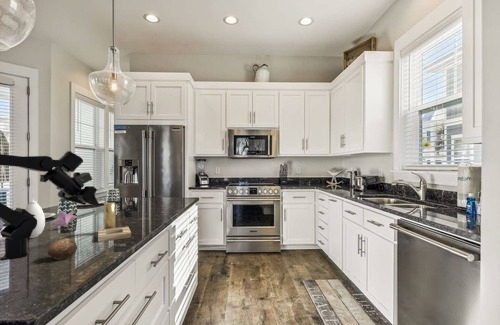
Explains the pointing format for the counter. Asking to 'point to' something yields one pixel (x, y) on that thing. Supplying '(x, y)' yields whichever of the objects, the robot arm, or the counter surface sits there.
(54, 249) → the potato
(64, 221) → the lily
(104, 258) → the counter surface
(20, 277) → the counter surface
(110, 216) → the brass cylinder peg
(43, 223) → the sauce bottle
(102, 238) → the jig
